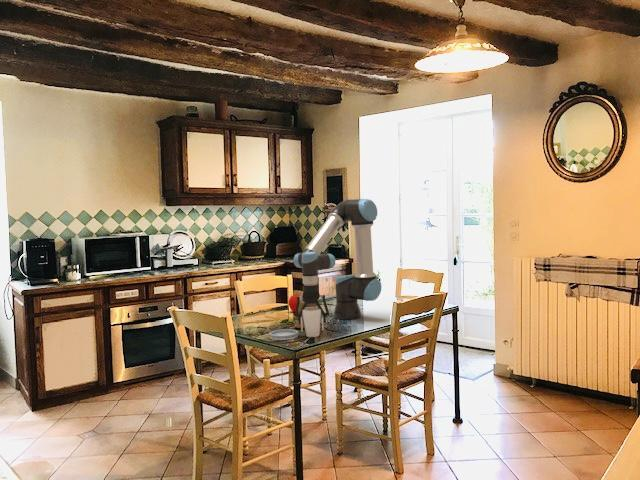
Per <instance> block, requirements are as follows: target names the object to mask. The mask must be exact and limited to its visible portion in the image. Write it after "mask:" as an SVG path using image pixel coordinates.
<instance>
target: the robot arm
mask: <svg viewBox="0 0 640 480" xmlns="http://www.w3.org/2000/svg"><path fill="white" fill-rule="evenodd" d="M377 216H378V208H377V205H376V203H375V202H374V201H373V200H371V199H368V198H359V199H357V198H356V199H346V200H343V201H341V202H339V203H338V204H337V205H336V206H335V207H334V208H333V209H331V211H330V212H329V213H328V215H327V219H326V221H325V222H324V223H323V225H321V227H320V228H319V229H318V231H317V232H316V234H315V235H314V237H313V238H312V239H311V241H310V242H309V243H308V244H307V246H306V247H305V248H304V250H303V251H302V252H298V253H296V254H295V255H294V257H293V264H294V266H295V267H296V268H300V269H301V270H302V271H301V273H302V274H301V275H302V284H303V285H302V294H301V295H302V296H297V305H296V310H295V312H294V317H295V318H296V317H297V319H298V320H297V322H298V323H299V324H301V328H300V332H303V331H304V330H303V329H304V328H303V321H302V317H301V315H302V310H304V309H305V307H306V305H307V303H308V304H311V303H312V304H315V303H316V305H317V307H318V308H319V309H321V330H322V331H325V325H324V324H326V322H327V317H328V316H330V311H329V310H330V309H329V308H328V304H327V302H326V301H327V300H326V295H325V294H320V293H319V292H320V291H319V271H322V270H323V271H324V270H329V269H333V268H334V267H335V265H336V257H335V256H334V255H333V254H332V253H324V254H323V253H321V252H322V251H323V250H324V248H325V247H326V246H327V245H328V243H329V242H330V240H331V239H332V237H333V236H334V235H335V234H336V233H337V231H338V229H339V228H340V227H343V226H344V224H345V223H348V222H350V223H351V227H353V229H354V239H355V241H354V242H355V258H356V260H355V261H356V274H346V275H340V276H337V277H336V278H335V299H336V301H335V302H336V305H335V307H334V311H333V318H334V319H337V320H355V319H356V320H357V319H359V318H361V317H362V312H361V308H360V305H359V303H358V300H360V301H365V302H368V301H376V300H377V299H378V298H379V297H380V295H381V291H382V283H381V282H380V281H381V280H380V279H378V278H377V274H376V273H375V272H374V264H373V263H374V262H373V246H372V242H373V241H372V229H371V228H372V226H373V225H374V221H376V219H377ZM302 298H303V299H304V300H305V302H304V305H303V307H302V309H301V311H300V313H299V312H298V308H299V303H300V300H301V299H302ZM319 299H321V300H322V303H323V306H324V309H325V311H324V309H323V308H322V305H321V304H320V302H319V301H318V300H319Z"/></svg>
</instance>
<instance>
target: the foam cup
mask: <svg viewBox="0 0 640 480" xmlns="http://www.w3.org/2000/svg"><path fill="white" fill-rule="evenodd" d="M302 315H303V320H304V326H305V328H304V330H305V336H306V337H308V338H316V337H319V336H320V330H321V323H322V313H321V309H319V308H318V306H317V307H307V308H305V309H304V310H302Z"/></svg>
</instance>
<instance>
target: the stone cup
mask: <svg viewBox="0 0 640 480" xmlns="http://www.w3.org/2000/svg"><path fill="white" fill-rule="evenodd" d="M304 302H305V300H304V299H303V298H302V299H301V300H300V303H299V308H298V314H299V313H300V311H301V309H302V307H303V305H304ZM307 307H318V306H317V305H316V303H315V304H312V303H311V304H308V303H307V305H306V307H305V308H307ZM301 317H302V321H303V329H305V326H304V320H303V315H301ZM293 327H295V328H297V329H301V324H299V323H298V321H296V322H295V323H294V325H293Z"/></svg>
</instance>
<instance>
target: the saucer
mask: <svg viewBox="0 0 640 480" xmlns="http://www.w3.org/2000/svg"><path fill="white" fill-rule="evenodd" d="M268 337H269V339H270V340H272V341H273V340H274V341H287V340H288V341H289V340H290V341H291V340H293V339H294V340H295V339H296V338H298V337H299V330H296V329H292V328H291V329H290V328H287V329H286V328H284V329H283V328H282V329H276V330H272V331H269V333H268Z"/></svg>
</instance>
